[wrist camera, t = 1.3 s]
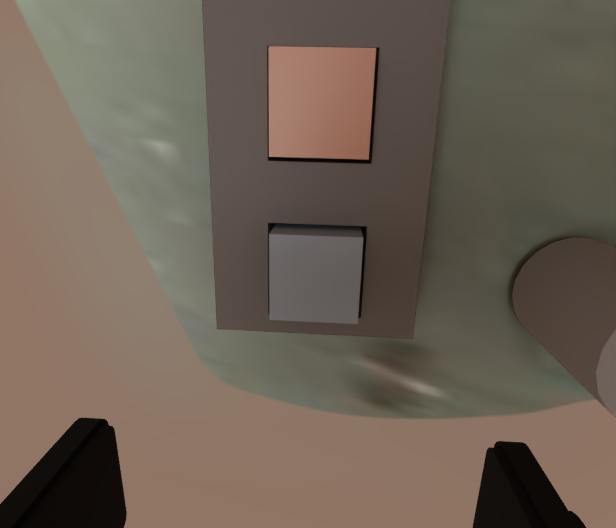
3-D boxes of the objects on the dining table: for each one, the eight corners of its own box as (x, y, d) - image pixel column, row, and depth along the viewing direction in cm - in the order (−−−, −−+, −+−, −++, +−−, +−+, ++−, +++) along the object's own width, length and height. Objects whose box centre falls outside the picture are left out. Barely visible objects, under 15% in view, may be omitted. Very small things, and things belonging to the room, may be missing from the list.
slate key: (278, 219, 26) (269, 233, 22) (358, 222, 25) (363, 237, 22) (278, 294, 27) (269, 319, 23) (354, 297, 27) (357, 324, 23)
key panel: (221, -144, 22) (192, -220, 18) (444, -146, 22) (476, -224, 17) (235, 298, 30) (217, 328, 25) (399, 306, 30) (412, 338, 25)
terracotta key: (279, 61, 23) (268, 46, 19) (368, 62, 23) (376, 47, 19) (278, 153, 24) (268, 156, 21) (363, 155, 24) (368, 159, 20)
